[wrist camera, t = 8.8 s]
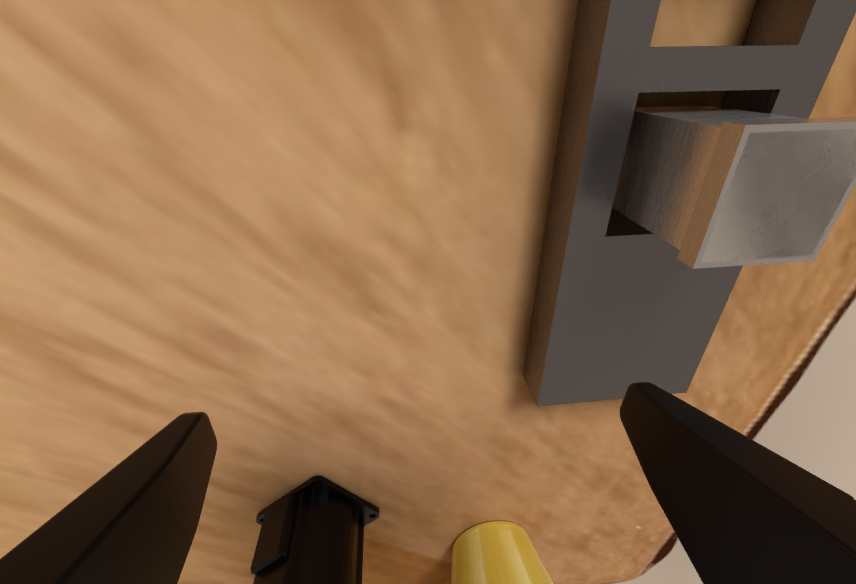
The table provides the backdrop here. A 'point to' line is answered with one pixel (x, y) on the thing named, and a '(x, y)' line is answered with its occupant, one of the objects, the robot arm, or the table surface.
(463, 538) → the plant pot
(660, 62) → the rack rail
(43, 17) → the table surface
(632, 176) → the grey-capped square peg
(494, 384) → the table surface
